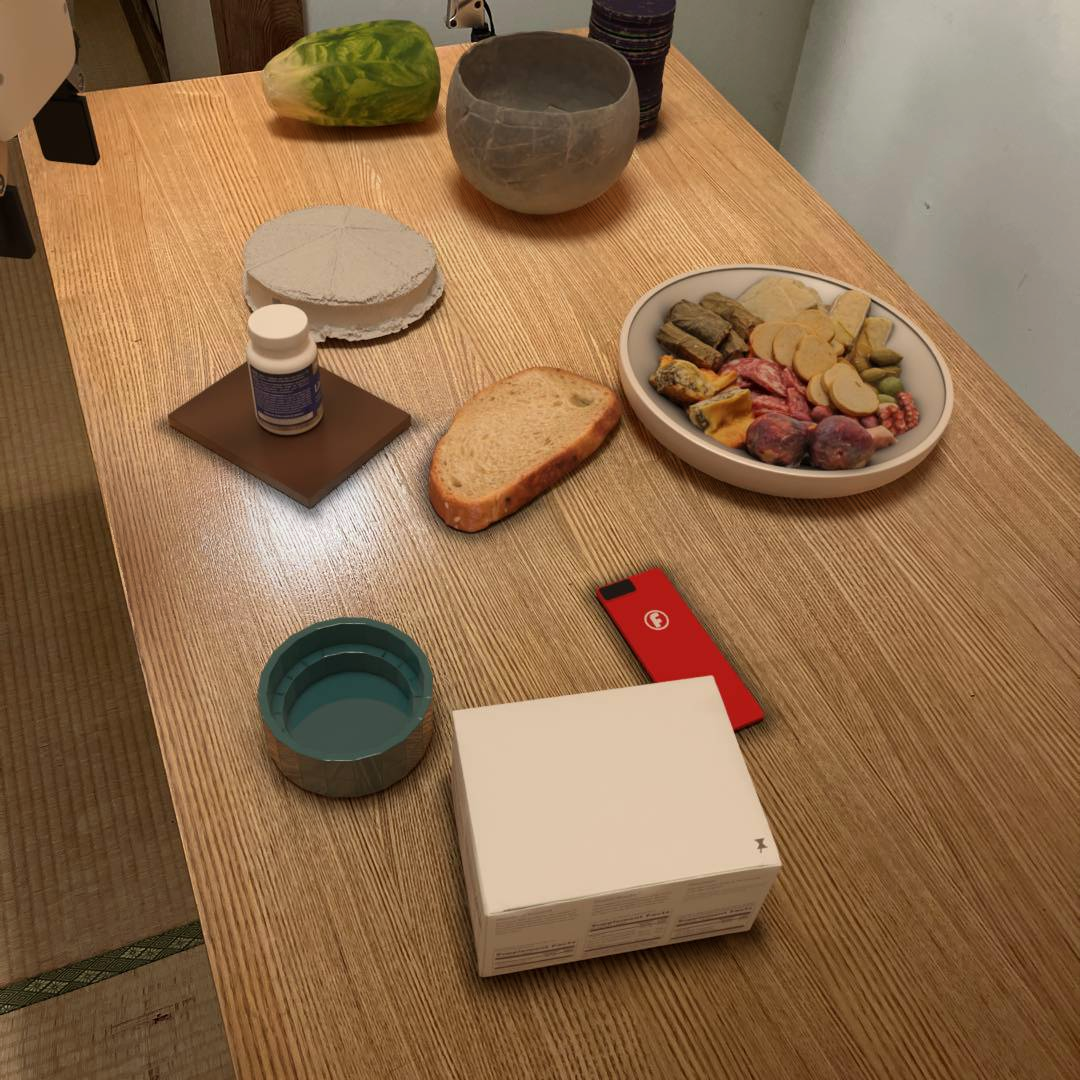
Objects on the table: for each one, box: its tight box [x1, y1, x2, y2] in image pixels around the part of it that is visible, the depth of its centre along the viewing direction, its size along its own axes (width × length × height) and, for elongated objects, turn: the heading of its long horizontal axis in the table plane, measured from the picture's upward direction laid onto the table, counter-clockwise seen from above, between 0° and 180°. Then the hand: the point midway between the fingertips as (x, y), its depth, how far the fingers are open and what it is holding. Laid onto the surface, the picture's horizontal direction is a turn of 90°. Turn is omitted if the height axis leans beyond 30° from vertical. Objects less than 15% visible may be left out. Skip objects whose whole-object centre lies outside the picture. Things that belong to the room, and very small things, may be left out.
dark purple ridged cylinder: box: [587, 0, 677, 143], centre depth 127 cm, size 10×10×18 cm
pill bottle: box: [245, 304, 323, 435], centre depth 89 cm, size 6×6×10 cm
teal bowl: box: [256, 616, 434, 798], centre depth 72 cm, size 11×11×5 cm
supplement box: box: [450, 676, 783, 978], centre depth 65 cm, size 17×13×9 cm
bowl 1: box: [445, 30, 640, 216], centre depth 116 cm, size 20×20×15 cm
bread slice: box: [427, 365, 623, 533], centre depth 92 cm, size 18×18×4 cm
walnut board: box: [167, 360, 412, 509], centre depth 93 cm, size 16×13×1 cm
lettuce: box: [261, 19, 442, 128], centre depth 125 cm, size 12×21×11 cm, turn 111°
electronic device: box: [595, 567, 765, 732], centre depth 79 cm, size 6×1×15 cm
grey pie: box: [241, 203, 446, 343], centre depth 105 cm, size 20×20×7 cm
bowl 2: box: [617, 263, 955, 500], centre depth 97 cm, size 30×30×8 cm
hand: (41, 205), depth 60 cm, fingers open, 9 cm apart
